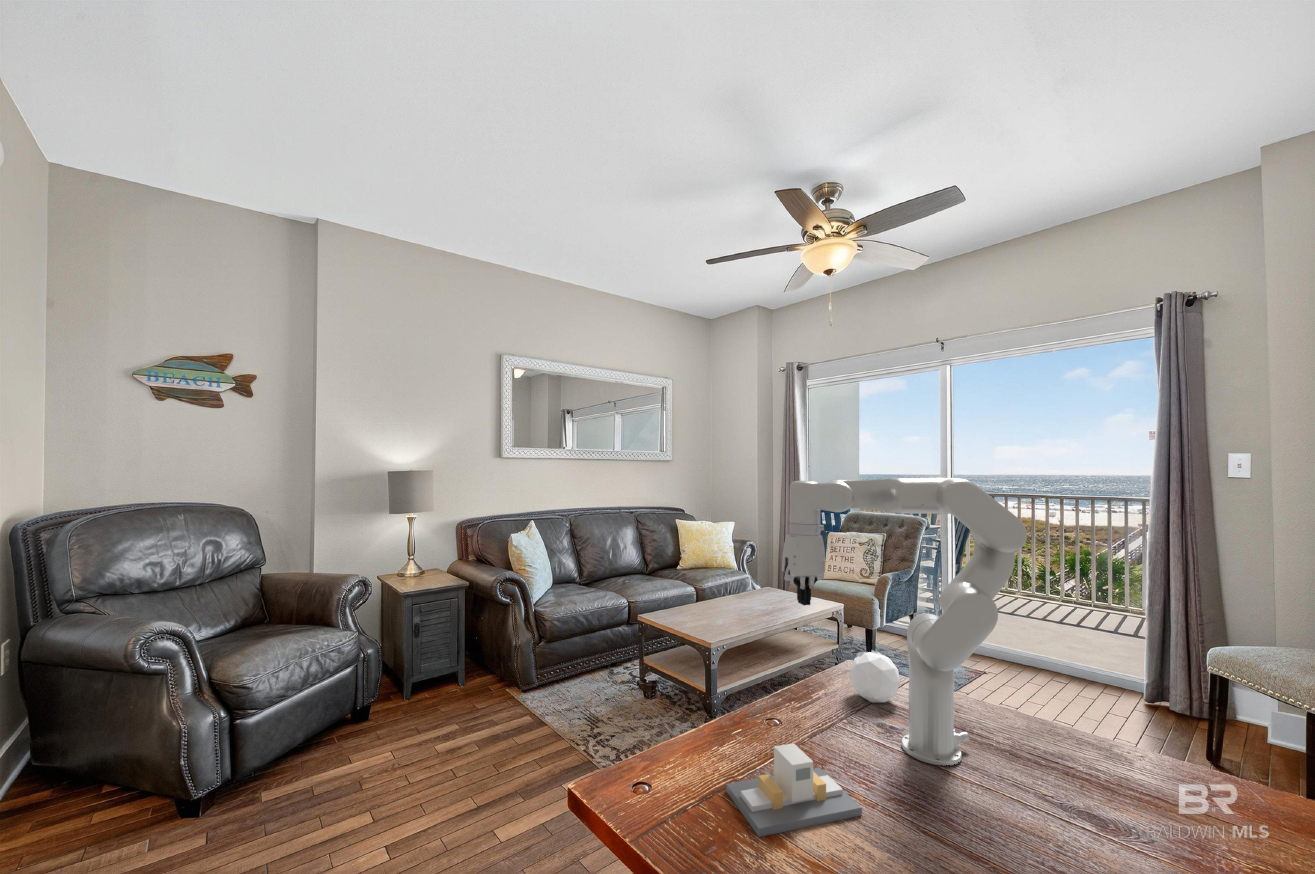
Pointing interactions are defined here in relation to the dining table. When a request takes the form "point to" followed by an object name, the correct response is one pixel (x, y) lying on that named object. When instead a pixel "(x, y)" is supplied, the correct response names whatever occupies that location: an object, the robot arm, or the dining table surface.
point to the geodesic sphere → (874, 676)
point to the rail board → (791, 804)
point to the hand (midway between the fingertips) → (804, 603)
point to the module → (793, 772)
